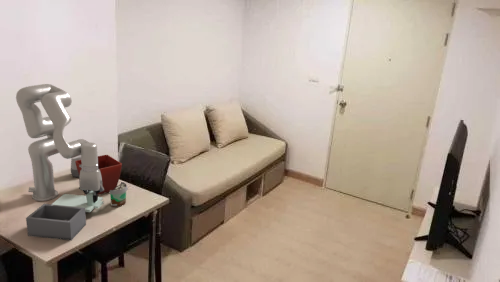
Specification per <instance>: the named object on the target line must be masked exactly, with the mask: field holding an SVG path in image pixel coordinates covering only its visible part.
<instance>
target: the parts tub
mask: <svg viewBox="0 0 500 282" xmlns="http://www.w3.org/2000/svg"><path fill="white" fill-rule="evenodd" d="M51 204H52V203H51ZM51 204H49V203H43V204H42V205H41V206H39V207H38V208H37V209H35V210H34V211H33V212H31V213H30V215H28V216H26V217H25V222H26V231H27V236H28V237H35V238H45V239H54V240H55V239H56V240H64V241H72V240H74V238H76V236H77V235H78V234H79V233H80V232H81V231H82V230H83V229H84V228H85V226H86V225H87V218H86V212H85V208H81V207H71V206H61V205H51Z"/></svg>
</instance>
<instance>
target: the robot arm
mask: <svg viewBox="0 0 500 282" xmlns="http://www.w3.org/2000/svg"><path fill="white" fill-rule="evenodd" d="M15 95H16V97H15V100H16V103H17V106H18V108H19V110H20V112H21V114H22V119H23V123H24V125H25V130H26V133H27V136H28V137H29V138H31V139H39V138H42V137H43V138H42V139H39V140H36V141H33V142H32V143H30V144H29V146H28V148H27V150H28V155H29V158H30V162H31V167H32V168H31V169H32V174H33V175H32V177H33V185H34V186H29V187H28V193H32V194H31V198H32V200H34V201H37V202H38V201H39V202H45V201H46V202H47V201H50V200H51V201H52V200H54V199H56V198H57V197H58V196H59V192H58V190H56V188H55V178H54V168H53V167H54V166H53V163H52V161H51V160H50V159H49V157H51V156H54V155H57V154H60V156H61V157H62V158H64V159H67V160H68V159H69V160H70V159H71V158H73V157H76V156H79V155H81V162H82V164H81V165H79V167H81V168H82V170H80V177H78V178H79V182H78V185H79V186H78V190H81V191H82V192H83V193H84V194H85V195H84V196H86V197H87V194H88V193H89V192H90V191H93V192H94V195H93V202H94V203H95V202H96V201H97V200H98V197H99V195H98V193H99V192H102V191H104V188H103V186H102V177H101V172H100V170H99V169H98V156H99V154H98V153H99V152H98V145H97V144H96V143H95V142H90V141H87V140H85V139H83V138H80V139H79V138H78V139H76V140H73V141H69V142H67V140H66V139H65V135H64V130H65V128H66V126H68V125H69V124H70V123H71V121H72V117H71V116H70V114H69V112H68V111H67V109H66V108H68V107H70V106H72V97H71V95H70V94H69V93H68V92H67V91H65V90H64V89H61V88H59V87H57V86H56V85H54V84H49V83H43V84H36V85H28V86H25V87H21V88H20V89H18V91H17V92H16V94H15ZM36 103H41V106H42V107H43V109H44V111H45V113H46V115H47V116H45V117H43V115H42V111H41V109H40V107H39V106H37V104H36ZM44 137H46V138H44Z"/></svg>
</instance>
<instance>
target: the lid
mask: <svg viewBox="0 0 500 282" xmlns="http://www.w3.org/2000/svg"><path fill="white" fill-rule="evenodd" d="M93 195H94V192H93V191H90V192H89V193H88V194H87V197H86V195H79V194H72V193H69V194H68V193H63V194H62V195H60V197H59V198H58V199H56V200H55V201H54V202H52V203H51V205H61V206H71V207H81V208H85V213H91V212H92V211H93V210H94V209H97V210H98V209H100V208H101V207H102V205H103V204H104V201H103V200H104V199H103V197H102V196H98V200H97V201H96V202H95V203H94V202H93Z"/></svg>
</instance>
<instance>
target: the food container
mask: <svg viewBox="0 0 500 282" xmlns="http://www.w3.org/2000/svg"><path fill="white" fill-rule="evenodd" d="M128 188H129V187H128V185H127V183H125V182H123V181H120V183H119V184H117V186H116V187H115V188H114V189H113V190H110V192H108V193H109V194H108V195H109V196H110V205H111V206H110V207H112V208H118V207H122V205H123V206H124V205H126V203H127V191H128V190H129V189H128Z"/></svg>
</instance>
